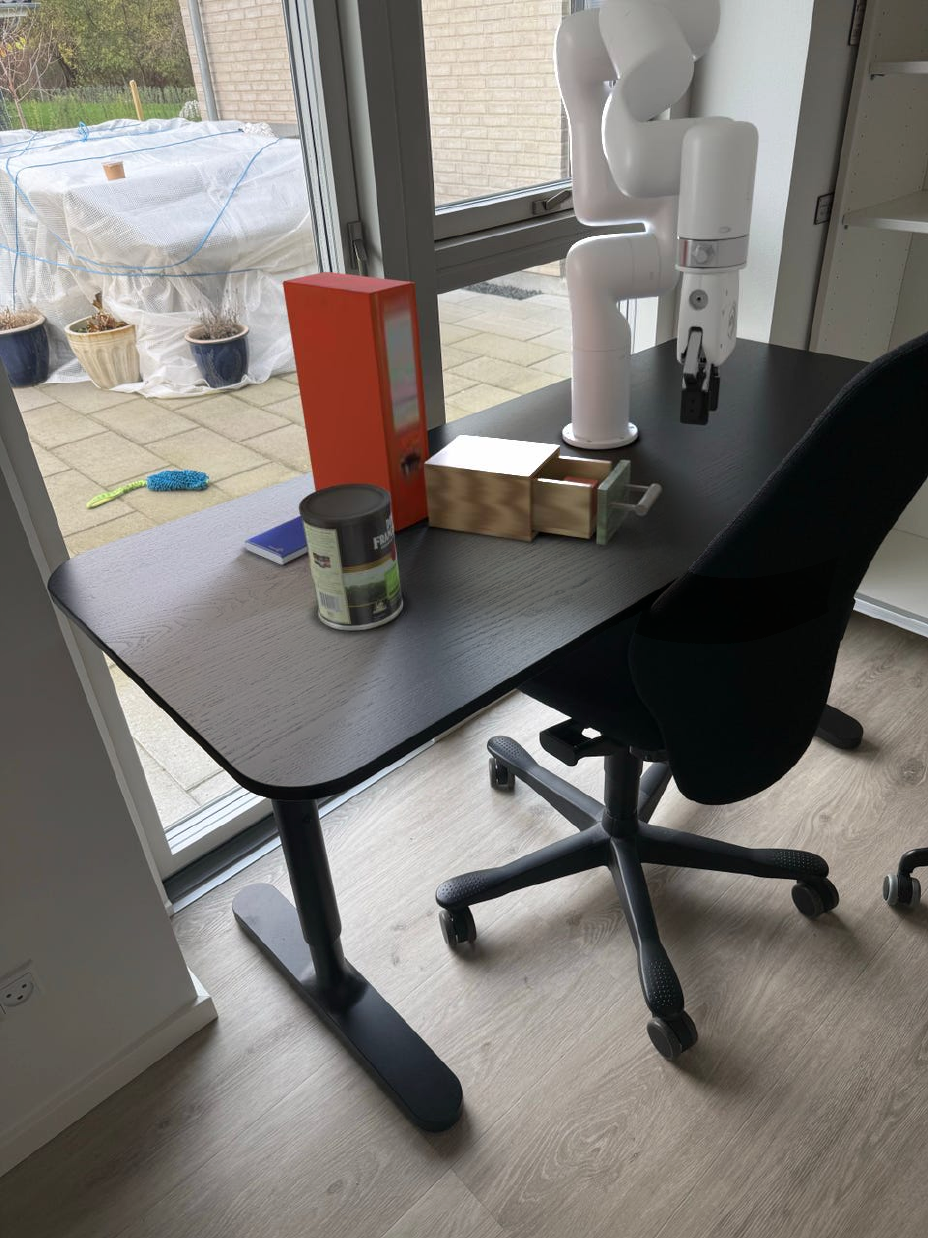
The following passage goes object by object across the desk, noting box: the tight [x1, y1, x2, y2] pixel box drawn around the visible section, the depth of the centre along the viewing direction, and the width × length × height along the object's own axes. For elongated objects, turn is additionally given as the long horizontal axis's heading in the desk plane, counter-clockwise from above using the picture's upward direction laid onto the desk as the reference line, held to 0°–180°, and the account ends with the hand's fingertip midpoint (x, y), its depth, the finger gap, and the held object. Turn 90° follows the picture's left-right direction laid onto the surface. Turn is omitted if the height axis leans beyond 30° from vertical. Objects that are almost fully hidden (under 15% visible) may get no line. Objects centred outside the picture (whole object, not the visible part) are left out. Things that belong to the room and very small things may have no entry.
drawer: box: [530, 455, 663, 546], centre depth 116 cm, size 19×10×8 cm, turn 64°
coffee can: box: [298, 483, 404, 632], centre depth 101 cm, size 10×10×14 cm
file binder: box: [282, 271, 430, 532], centre depth 121 cm, size 8×17×32 cm, turn 47°
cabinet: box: [424, 434, 561, 542], centre depth 121 cm, size 15×11×9 cm
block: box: [563, 476, 599, 520], centre depth 117 cm, size 5×5×5 cm
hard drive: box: [244, 515, 308, 566], centre depth 121 cm, size 2×8×12 cm
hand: (698, 414), depth 104 cm, fingers open, 4 cm apart
